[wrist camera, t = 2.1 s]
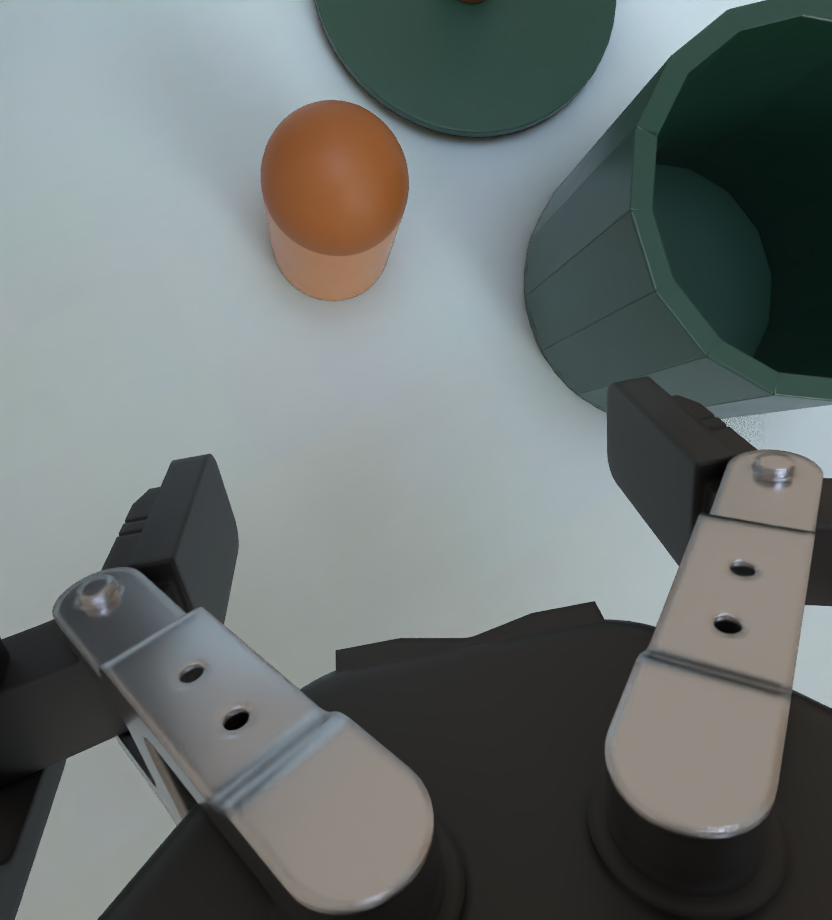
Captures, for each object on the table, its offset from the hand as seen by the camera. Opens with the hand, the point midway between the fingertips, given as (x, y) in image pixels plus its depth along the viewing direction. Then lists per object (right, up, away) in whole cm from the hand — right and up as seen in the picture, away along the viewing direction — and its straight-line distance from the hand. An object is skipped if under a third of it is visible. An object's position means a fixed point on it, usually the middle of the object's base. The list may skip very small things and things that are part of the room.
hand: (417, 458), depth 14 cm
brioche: (-4, +10, +18) cm, 21 cm away
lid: (+2, +23, +19) cm, 29 cm away
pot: (+12, +9, +20) cm, 25 cm away
